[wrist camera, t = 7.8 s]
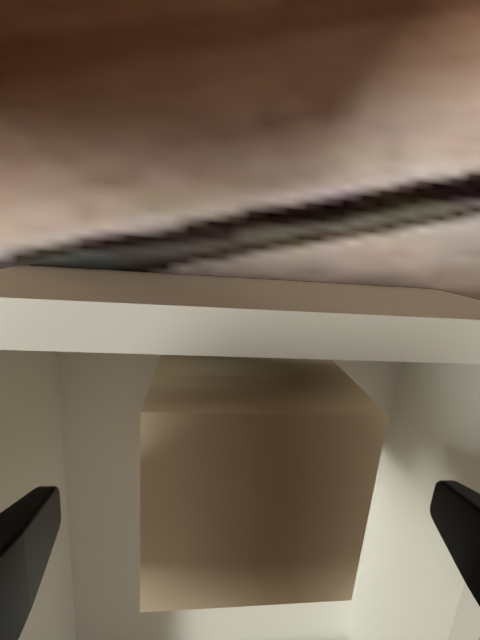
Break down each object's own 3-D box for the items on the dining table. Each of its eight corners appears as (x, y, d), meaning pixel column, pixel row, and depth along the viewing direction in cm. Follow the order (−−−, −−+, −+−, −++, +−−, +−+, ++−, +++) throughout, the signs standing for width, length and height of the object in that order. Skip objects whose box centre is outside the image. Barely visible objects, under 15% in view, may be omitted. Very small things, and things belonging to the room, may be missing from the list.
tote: (25, 265, 11) (-122, 291, 6) (433, 288, 12) (582, 324, 7) (59, 671, 15) (-9, 879, 10) (357, 648, 17) (419, 816, 12)
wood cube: (164, 465, 12) (139, 612, 8) (167, 335, 11) (140, 412, 6) (296, 463, 13) (351, 600, 8) (312, 340, 12) (388, 415, 7)
